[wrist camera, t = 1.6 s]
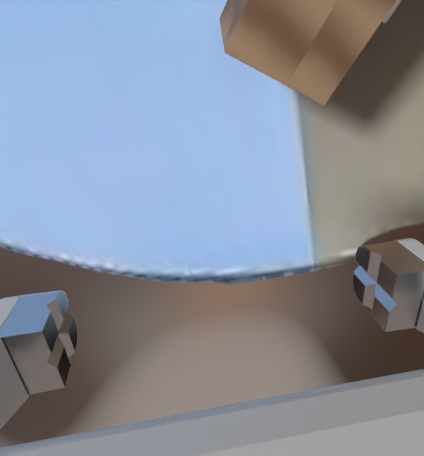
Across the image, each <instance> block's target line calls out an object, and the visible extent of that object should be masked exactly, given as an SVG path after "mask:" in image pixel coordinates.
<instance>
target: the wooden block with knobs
mask: <svg viewBox="0 0 424 456" xmlns="http://www.w3.org/2000/svg"><path fill="white" fill-rule="evenodd" d="M395 2H396V0H228V1H227V3H226V6H225V8H224V10H223V13H222V15H221V17H220V24H221V30H222V37H223V44H224V50H225V53H227V54H228V55H230V56H232V57H234V58H236V59H238V60H240V61H241V62H243V63H245V64H247V65H249V66H251V67H253V68H254V69H256V70H258V71H260V72H262V73H264V74H266V75H268V76H269V77H271V78H273V79H275V80H277V81H279V82H281V83H282V84H284V85H286V86H288V87H290V88H292V89H294V90H296V91H297V92H299V93H301V94H303V95H305V96H307V97H309V98H310V99H312V100H314V101H316V102H318V103H320V104H322V105H325V104H326V102H327V101H328V99H329V98H330V96H331V95H332V93H333V92H334V91H335V89H336V88H337V86H338V85H339V83H340V82H341V80H342V79H343V77H344V76H345V74H346V73H347V72H348V70H349V69H350V67H351V66H352V64H353V63H354V61H355V60H356V58H357V57H358V56H359V54H360V53H361V51H362V50H363V48H364V47H365V45H366V44H367V42H368V41H369V39H370V38H371V37H372V35H373V34H374V32H375V31H376V29H377V28H378V26H379V25H380V23H381V22H382V20H383V19H384V18H385V16H386V15H387V13H388V12H389V10H390V9H391V7H392V6H393V4H394V3H395Z"/></svg>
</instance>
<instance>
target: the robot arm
mask: <svg viewBox="0 0 424 456" xmlns="http://www.w3.org/2000/svg"><path fill="white" fill-rule="evenodd" d="M355 260H356V261H357V263H358V264H359V267H358V268H357V269H356V270H355V272H354V273H353V287H354V292H355V294H356V296H357V298H358V299H359V301H360V302H361V303H362V304H363V305H365V306H368V307H370V308H372V316H373V317H374V319H375V320H376V321H377V322H378V323H379V324H380V325H381V327H382V328H383V329H384V330H385V332H388V331H394V330H401V329H408V328H415V327H416V329H417V330H419V331H421V332H423V333H424V245H422V244H421V243H420V242H418V241H417V240H415V239H412V238H406V239H401V240H396V241H391V242H385V243H379V244H373V245H368V246H361V247H359V248H358V250H357V252H356V257H355ZM68 305H69V301H68V298H67V296H66V293H64V292H63V291H61V290H60V291H53V292H45V293H37V294H29V295H23V296H14V297H8V298H3V299H0V429H1V428H2V427H3V425H4V424H5V423H6V422H7V421H8V420H9V419H10V418H11V416H12V415H13V414H14V413H15V412H16V411H17V410H18V408H19V407H20V406H21V405H22V404H23V403H24V402H25V400H26V399H27V398H28V397H29V396H28V395H30V394H35V393H40V392H45V391H50V390H55V389H59V388H65V385H66V382H67V378H68V374H69V371H70V368H71V364H70V361H69V359H68V358H69V357H70V356H71V355H72V354H73V353H74V352H75V349H76V345H77V326H76V322H75V319H74V316H72V315H71V314H70V313H68V312H67V308H68ZM0 456H424V369H422V370H416V371H411V372H405V373H400V374H395V375H389V376H384V377H378V378H373V379H367V380H362V381H357V382H351V383H345V384H340V385H335V386H329V387H325V388H318V389H313V390H308V391H302V392H297V393H292V394H287V395H281V396H276V397H271V398H265V399H260V400H255V401H249V402H244V403H238V404H233V405H228V406H222V407H217V408H212V409H206V410H201V411H196V412H190V413H185V414H180V415H174V416H169V417H163V418H158V419H153V420H148V421H142V422H137V423H132V424H126V425H121V426H116V427H110V428H105V429H99V430H94V431H89V432H84V433H78V434H73V435H67V436H62V437H57V438H51V439H46V440H40V441H35V442H30V443H24V444H19V445H13V446H9V447H3V448H0Z"/></svg>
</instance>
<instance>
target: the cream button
mask: <svg viewBox="0 0 424 456" xmlns="http://www.w3.org/2000/svg"><path fill="white" fill-rule="evenodd" d="M401 1H402V0H396V2H395V3H394V4H393V6H392V7H391V9H390V10H389V12H388V13H387V15H386V16H385V18H384V19H383V20H382V23H385V24H386V22H387V21H388V20H389V18H390V17H391V15H392V14H393V12H394V11H395V9H396V8H397V7H398V5H399V4H400V2H401Z"/></svg>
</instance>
